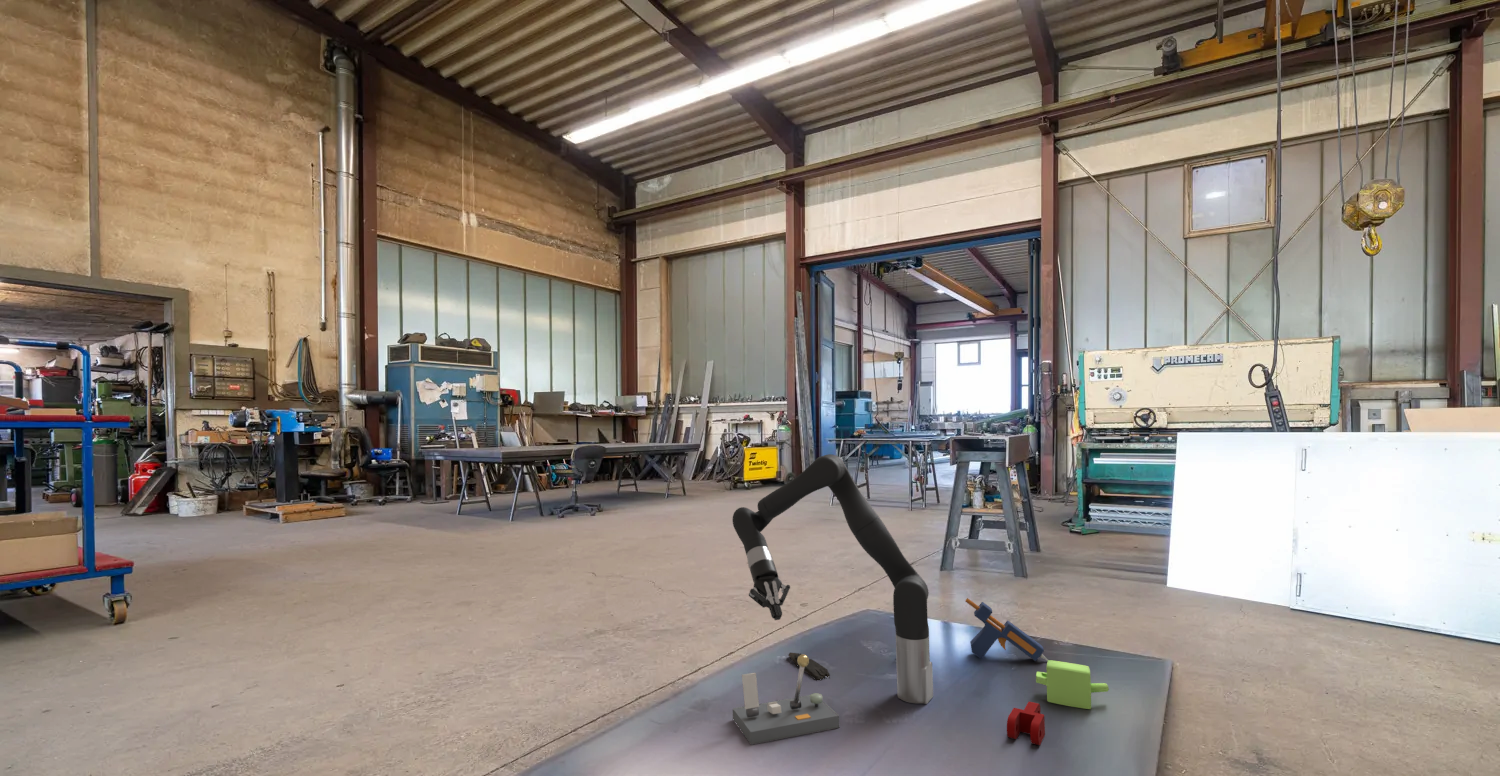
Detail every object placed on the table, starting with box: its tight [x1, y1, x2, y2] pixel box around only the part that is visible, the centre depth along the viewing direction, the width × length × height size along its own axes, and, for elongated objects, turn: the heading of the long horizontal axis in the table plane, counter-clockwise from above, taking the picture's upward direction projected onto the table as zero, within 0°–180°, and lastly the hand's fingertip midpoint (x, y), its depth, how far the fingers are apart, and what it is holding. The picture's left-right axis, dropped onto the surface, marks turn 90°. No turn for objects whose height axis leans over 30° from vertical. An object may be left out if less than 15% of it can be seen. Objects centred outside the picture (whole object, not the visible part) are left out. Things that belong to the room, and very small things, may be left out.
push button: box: [809, 692, 823, 707], centre depth 168 cm, size 3×3×3 cm
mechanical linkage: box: [1006, 701, 1046, 746], centre depth 160 cm, size 16×7×5 cm, turn 145°
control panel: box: [732, 694, 840, 745], centre depth 165 cm, size 14×24×3 cm, turn 110°
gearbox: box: [1035, 659, 1110, 710], centre depth 177 cm, size 18×10×10 cm, turn 64°
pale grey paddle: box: [741, 672, 760, 717], centre depth 163 cm, size 2×4×10 cm, turn 110°
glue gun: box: [964, 597, 1049, 662], centre depth 210 cm, size 6×31×15 cm
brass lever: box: [790, 653, 810, 709], centre depth 164 cm, size 3×3×16 cm
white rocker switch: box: [767, 701, 781, 714], centre depth 164 cm, size 4×2×2 cm, turn 20°
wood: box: [788, 652, 831, 681], centre depth 204 cm, size 22×7×3 cm, turn 24°
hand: (778, 618), depth 178 cm, fingers closed
